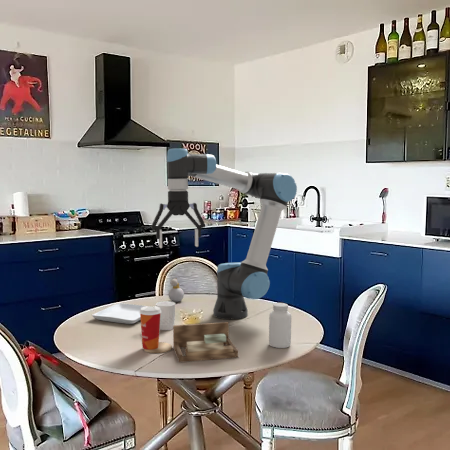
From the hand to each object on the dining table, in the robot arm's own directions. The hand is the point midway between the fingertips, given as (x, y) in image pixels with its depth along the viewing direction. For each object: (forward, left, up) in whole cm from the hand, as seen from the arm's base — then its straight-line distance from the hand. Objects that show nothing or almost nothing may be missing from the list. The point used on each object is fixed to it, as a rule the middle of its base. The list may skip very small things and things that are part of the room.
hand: (178, 246), depth 194 cm
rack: (-6, +20, -34) cm, 40 cm away
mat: (+10, +13, -34) cm, 38 cm away
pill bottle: (-34, +19, -35) cm, 52 cm away
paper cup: (+12, +13, -34) cm, 38 cm away
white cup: (+4, -11, -35) cm, 37 cm away
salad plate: (+19, -30, -35) cm, 50 cm away
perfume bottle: (-6, -52, -35) cm, 63 cm away
